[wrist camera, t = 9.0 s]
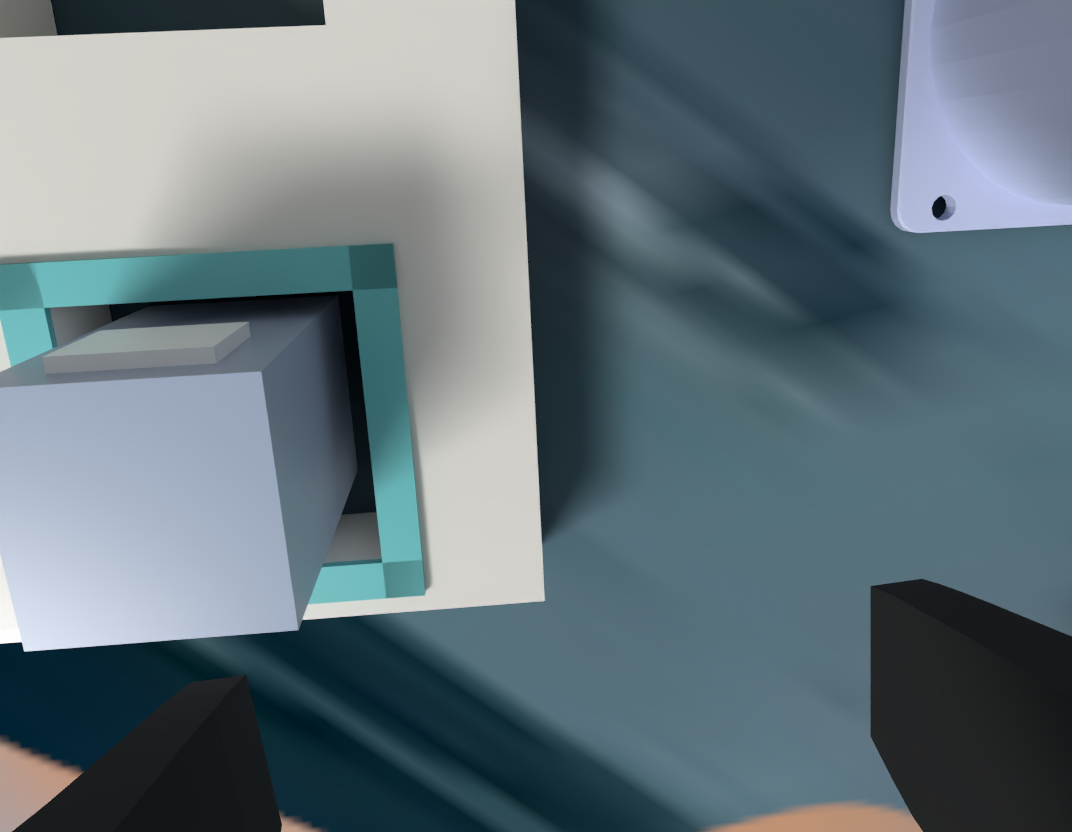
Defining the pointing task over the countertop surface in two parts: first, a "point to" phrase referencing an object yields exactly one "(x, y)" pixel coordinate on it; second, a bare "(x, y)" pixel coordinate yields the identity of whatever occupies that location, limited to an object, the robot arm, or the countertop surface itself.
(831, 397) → the countertop surface
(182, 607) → the plug
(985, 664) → the robot arm
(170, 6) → the countertop surface
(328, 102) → the panel
